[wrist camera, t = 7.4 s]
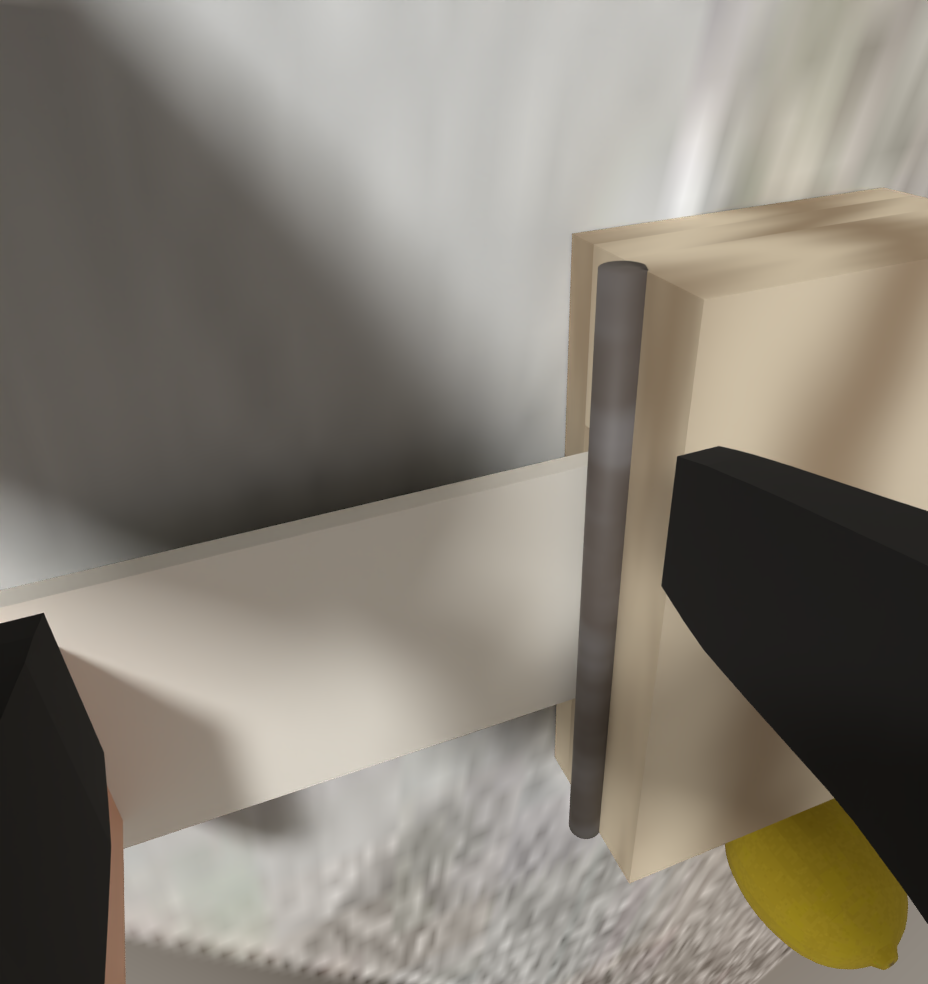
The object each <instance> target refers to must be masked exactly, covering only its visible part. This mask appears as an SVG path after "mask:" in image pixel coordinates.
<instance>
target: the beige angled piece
mask: <svg viewBox="0 0 928 984" xmlns="http://www.w3.org/2000/svg"><path fill="white" fill-rule="evenodd" d="M587 466H588V452H584V453H579V454H575V455H571V456H567V457H563V458H558V459H554V460H550V461H546V462H541V463H537V464H533V465H529V466H524V467H520V468H516V469H512V470H508V471H503V472H499V473H495V474H491V475H486V476H482V477H478V478H474V479H469V480H465V481H461V482H457V483H452V484H448V485H444V486H440V487H436V488H431V489H427V490H423V491H419V492H414V493H410V494H406V495H402V496H397V497H393V498H389V499H385V500H380V501H376V502H372V503H368V504H364V505H359V506H355V507H351V508H347V509H342V510H338V511H334V512H330V513H325V514H321V515H317V516H313V517H309V518H304V519H300V520H296V521H292V522H287V523H283V524H279V525H275V526H270V527H266V528H262V529H258V530H253V531H249V532H245V533H241V534H237V535H232V536H228V537H224V538H220V539H215V540H211V541H207V542H203V543H198V544H194V545H190V546H186V547H181V548H177V549H173V550H169V551H165V552H160V553H156V554H152V555H148V556H143V557H139V558H135V559H131V560H126V561H122V562H118V563H114V564H110V565H105V566H101V567H97V568H93V569H88V570H84V571H80V572H76V573H71V574H67V575H63V576H59V577H54V578H50V579H46V580H42V581H38V582H33V583H29V584H25V585H21V586H16V587H12V588H8V589H4V590H0V623H4V622H8V621H12V620H16V619H20V618H24V617H28V616H32V615H36V614H40V613H44V614H45V617H46V619H47V621H48V624H49V626H50V628H51V631H52V633H53V635H54V638H55V640H56V642H57V645H58V647H59V649H60V651H61V654H62V656H63V658H64V661H65V663H66V665H67V668H68V670H69V672H70V675H71V677H72V679H73V682H74V684H75V686H76V688H77V691H78V693H79V695H80V698H81V700H82V702H83V705H84V707H85V709H86V712H87V714H88V716H89V719H90V721H91V723H92V725H93V728H94V730H95V732H96V735H97V737H98V739H99V742H100V744H101V746H102V749H103V751H104V757H105V768H106V780H107V791H108V803H109V818H110V833H111V868H110V889H109V910H108V931H107V950H106V968H105V984H126V983H125V921H124V860H123V849H124V848H127V847H130V846H133V845H136V844H139V843H142V842H145V841H148V840H151V839H154V838H157V837H160V836H163V835H166V834H169V833H172V832H175V831H178V830H181V829H184V828H187V827H190V826H193V825H196V824H199V823H202V822H205V821H208V820H211V819H214V818H217V817H220V816H223V815H226V814H229V813H232V812H235V811H238V810H241V809H244V808H247V807H250V806H253V805H256V804H259V803H262V802H265V801H268V800H271V799H274V798H277V797H280V796H283V795H286V794H289V793H292V792H295V791H298V790H301V789H304V788H307V787H310V786H313V785H316V784H319V783H322V782H325V781H328V780H332V779H335V778H338V777H341V776H344V775H347V774H350V773H353V772H356V771H359V770H362V769H365V768H368V767H371V766H374V765H377V764H380V763H383V762H386V761H389V760H392V759H395V758H398V757H401V756H404V755H407V754H410V753H413V752H416V751H419V750H422V749H425V748H428V747H431V746H434V745H437V744H440V743H443V742H446V741H449V740H452V739H455V738H458V737H461V736H464V735H467V734H470V733H473V732H476V731H479V730H482V729H485V728H488V727H491V726H494V725H497V724H500V723H503V722H506V721H509V720H512V719H515V718H518V717H521V716H524V715H527V714H530V713H533V712H536V711H539V710H542V709H545V708H548V707H551V706H554V705H557V704H560V703H563V702H566V701H569V700H572V699H575V697H576V678H577V659H578V639H579V620H580V601H581V582H582V562H583V543H584V524H585V505H586V485H587Z"/></svg>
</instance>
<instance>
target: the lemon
mask: <svg viewBox="0 0 928 984" xmlns="http://www.w3.org/2000/svg"><path fill="white" fill-rule="evenodd" d="M725 849H726V856H727V859H728V863H729V866H730V869H731V871H732V874H733V876H734V878H735V880H736V882H737V884H738V886H739V888H740V890H741V892H742V894H743V895H744V897H745V899H746V900H747V902H748V903H749V905H750V906H751V908H752V909H753V910H754V912H755V913H756V914H757V915H758V917H759V918H760V919H761V920H762V921H763V922H764V923H765V925H766V926H767V927H768V928H769V929H770V930H771V931H772V932H773V933H774V934H775V935H776V936H777V937H779V938H780V939H781V940H782V941H783V942H784V943H785V944H787V945H788V946H789V947H790V948H792V949H793V950H794V951H796V952H797V953H799V954H800V955H802V956H804V957H806V958H808V959H810V960H812V961H814V962H815V963H818V964H821V965H824V966H827V967H832V968H837V969H859V968H864V967H868V966H873V967H876V968H879V969H882V970H885V969H887V968H889V967H891V966H892V965H893V964H894V963H895V962H896V961H897V960H898V953H897V945H898V944H899V942H900V940H901V937H902V935H903V933H904V930H905V926H906V922H907V913H908V912H907V911H908V898H907V893H906V892H905V891H904V889H903V888H902V887H901V885H900V884H899V882H898V881H897V880H896V878H895V877H894V876H893V874H892V873H891V872H890V870H889V869H888V867H887V866H886V865H885V863H884V862H883V861H882V859H881V858H880V857H879V855H878V854H877V852H876V851H875V850H874V848H873V847H872V846H871V844H870V843H869V842H868V840H867V839H866V838H865V836H864V835H863V833H862V832H861V831H860V829H859V828H858V827H857V825H856V824H855V823H854V821H853V820H852V819H851V818H850V817H849V815H848V814H847V813H846V812H845V811H844V809H843V808H842V807H841V806H840V805H839V803H838V802H837V801H836V800H835V798H834V799H831V800H829V801H827V802H824V803H822V804H819V805H817V806H815V807H812V808H810V809H807V810H805V811H802V812H800V813H798V814H795V815H793V816H790V817H788V818H786V819H783V820H781V821H778V822H776V823H774V824H771V825H769V826H766V827H764V828H762V829H759V830H757V831H754V832H752V833H750V834H747V835H745V836H742V837H740V838H738V839H735V840H733V841H730V842H728V843H725Z"/></svg>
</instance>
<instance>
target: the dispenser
mask: <svg viewBox="0 0 928 984" xmlns="http://www.w3.org/2000/svg"><path fill="white" fill-rule="evenodd" d="M717 446H722V447H726V448H730V449H735V450H739V451H743V452H746V453H750V454H754V455H757V456H760V457H764V458H767V459H770V460H774V461H777V462H780V463H783V464H786V465H790V466H793V467H796V468H799V469H802V470H805V471H808V472H811V473H814V474H817V475H820V476H823V477H826V478H829V479H832V480H835V481H838V482H841V483H844V484H847V485H850V486H853V487H856V488H859V489H862V490H865V491H868V492H871V493H874V494H877V495H880V496H883V497H886V498H889V499H892V500H895V501H898V502H901V503H905V504H908V505H911V506H914V507H917V508H920V509H923V510H926V511H928V198H925V197H920V196H916V195H912V194H908V193H904V192H900V191H895V190H891V189H887V188H877V189H871V190H864V191H857V192H850V193H844V194H837V195H830V196H823V197H817V198H810V199H803V200H796V201H790V202H783V203H776V204H769V205H763V206H756V207H749V208H742V209H736V210H729V211H722V212H716V213H709V214H702V215H695V216H689V217H682V218H675V219H668V220H662V221H655V222H648V223H641V224H635V225H628V226H621V227H614V228H608V229H601V230H594V231H587V232H581V233H574V234H572V257H571V287H570V316H569V346H568V376H567V406H566V435H565V457H567V456H571V455H575V454H579V453H584V452H588V466H587V485H586V505H585V524H584V543H583V562H582V582H581V601H580V620H579V639H578V659H577V678H576V697H575V699H572V700H569V701H566V702H563V703H560V704H557V705H556V733H555V758H556V760H557V762H558V763H559V765H560V767H561V768H562V770H563V772H564V773H565V775H566V777H567V779H568V780H569V782H570V784H571V793H570V812H569V827H570V830H571V831H572V833H573V834H574V835H576V836H577V837H579V838H582V839H590V838H593V837H595V836H596V835H597V834H598V833H600V834H601V836H602V838H603V840H604V841H605V843H606V845H607V846H608V848H609V850H610V851H611V853H612V855H613V856H614V858H615V860H616V862H617V863H618V865H619V867H620V868H621V870H622V872H623V873H624V875H625V877H626V879H627V880H628V882H629V883H632V882H634V881H636V880H639V879H641V878H644V877H646V876H649V875H651V874H653V873H656V872H658V871H661V870H663V869H665V868H668V867H670V866H673V865H675V864H677V863H680V862H682V861H685V860H687V859H689V858H692V857H694V856H697V855H699V854H701V853H704V852H706V851H709V850H711V849H713V848H716V847H718V846H721V845H723V844H725V843H728V842H730V841H733V840H735V839H738V838H740V837H742V836H745V835H747V834H750V833H752V832H754V831H757V830H759V829H762V828H764V827H766V826H769V825H771V824H774V823H776V822H778V821H781V820H783V819H786V818H788V817H790V816H793V815H795V814H798V813H800V812H802V811H805V810H807V809H810V808H812V807H815V806H817V805H819V804H822V803H824V802H827V801H829V800H831V799H834V797H833V796H832V795H831V794H830V792H829V791H828V790H827V789H826V788H825V787H824V785H823V784H822V783H821V782H820V781H819V780H818V779H817V778H816V777H815V775H814V774H813V773H812V772H811V771H810V770H809V769H808V768H807V766H806V765H805V764H804V763H803V762H802V761H801V760H800V759H799V758H798V756H797V755H796V754H795V753H794V752H793V751H792V750H791V749H790V747H789V746H788V745H787V744H786V743H785V742H784V741H783V740H782V739H781V737H780V736H779V735H778V734H777V733H776V732H775V731H774V730H773V728H772V727H771V726H770V725H769V724H768V723H767V722H766V721H765V720H764V718H763V717H762V716H761V715H760V714H759V713H758V712H757V711H756V709H755V708H754V707H753V706H752V705H751V704H750V703H749V702H748V701H747V699H746V698H745V697H744V696H743V695H742V694H741V693H740V691H739V690H738V689H737V688H736V687H735V686H734V685H733V683H732V682H731V681H730V680H729V679H728V678H727V677H726V675H725V674H724V673H723V672H722V671H721V670H720V669H719V667H718V666H717V665H716V664H715V663H714V662H713V660H712V659H711V658H710V657H709V656H708V655H707V653H706V652H705V651H704V650H703V648H702V647H701V646H700V644H699V643H698V641H697V640H696V638H695V637H694V635H693V634H692V633H691V631H690V630H689V628H688V627H687V625H686V624H685V623H684V621H683V620H682V618H681V616H680V615H679V613H678V612H677V610H676V609H675V607H674V605H673V604H672V602H671V601H670V599H669V598H668V596H667V594H666V593H665V591H664V590H663V588H662V587H661V583H662V575H663V567H664V559H665V551H666V542H667V534H668V526H669V518H670V510H671V502H672V493H673V485H674V477H675V469H676V461H677V456H680V455H684V454H688V453H692V452H696V451H701V450H705V449H709V448H713V447H717Z"/></svg>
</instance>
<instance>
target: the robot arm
mask: <svg viewBox="0 0 928 984" xmlns="http://www.w3.org/2000/svg"><path fill="white" fill-rule="evenodd" d="M661 587H662V588H663V590H664V591H665V593H666V594H667V596H668V598H669V599H670V601H671V602H672V604H673V605H674V607H675V609H676V610H677V612H678V613H679V615H680V616H681V618H682V620H683V621H684V623H685V624H686V625H687V627H688V628H689V630H690V631H691V633H692V634H693V635H694V637H695V638H696V640H697V641H698V643H699V644H700V646H701V647H702V648H703V650H704V651H705V652H706V653H707V655H708V656H709V657H710V658H711V659H712V660H713V662H714V663H715V664H716V665H717V666H718V667H719V669H720V670H721V671H722V672H723V673H724V674H725V675H726V677H727V678H728V679H729V680H730V681H731V682H732V683H733V685H734V686H735V687H736V688H737V689H738V690H739V691H740V693H741V694H742V695H743V696H744V697H745V698H746V699H747V701H748V702H749V703H750V704H751V705H752V706H753V707H754V708H755V709H756V711H757V712H758V713H759V714H760V715H761V716H762V717H763V718H764V720H765V721H766V722H767V723H768V724H769V725H770V726H771V727H772V728H773V730H774V731H775V732H776V733H777V734H778V735H779V736H780V737H781V739H782V740H783V741H784V742H785V743H786V744H787V745H788V746H789V747H790V749H791V750H792V751H793V752H794V753H795V754H796V755H797V756H798V758H799V759H800V760H801V761H802V762H803V763H804V764H805V765H806V766H807V768H808V769H809V770H810V771H811V772H812V773H813V774H814V775H815V777H816V778H817V779H818V780H819V781H820V782H821V783H822V784H823V785H824V787H825V788H826V789H827V790H828V791H829V792H830V794H831V795H832V796H833V797H834V798H835V800H836V801H837V802H838V803H839V805H840V806H841V807H842V808H843V809H844V811H845V812H846V813H847V814H848V815H849V817H850V818H851V819H852V820H853V821H854V823H855V824H856V825H857V827H858V828H859V829H860V831H861V832H862V833H863V835H864V836H865V838H866V839H867V840H868V842H869V843H870V844H871V846H872V847H873V848H874V850H875V851H876V852H877V854H878V855H879V857H880V858H881V859H882V861H883V862H884V863H885V865H886V866H887V867H888V869H889V870H890V872H891V873H892V874H893V876H894V877H895V878H896V880H897V881H898V882H899V884H900V885H901V887H902V888H903V889H904V891H905V892H906V893H907V895H908V896H909V897H910V899H911V900H912V902H913V903H914V905H915V906H916V908H917V909H918V910H919V912H920V913H921V915H922V916H923V918H924V919H925V921H926V922H927V923H928V511H926V510H923V509H920V508H917V507H914V506H911V505H908V504H905V503H901V502H898V501H895V500H892V499H889V498H886V497H883V496H880V495H877V494H874V493H871V492H868V491H865V490H862V489H859V488H856V487H853V486H850V485H847V484H844V483H841V482H838V481H835V480H832V479H829V478H826V477H823V476H820V475H817V474H814V473H811V472H808V471H805V470H802V469H799V468H796V467H793V466H790V465H786V464H783V463H780V462H777V461H774V460H770V459H767V458H764V457H760V456H757V455H754V454H750V453H746V452H743V451H739V450H735V449H730V448H726V447H722V446H717V447H713V448H709V449H705V450H701V451H696V452H692V453H688V454H684V455H680V456H677V461H676V469H675V477H674V485H673V493H672V502H671V510H670V518H669V526H668V534H667V542H666V551H665V559H664V567H663V575H662V583H661ZM110 868H111V833H110V818H109V803H108V791H107V780H106V768H105V757H104V751H103V749H102V746H101V744H100V742H99V739H98V737H97V735H96V732H95V730H94V728H93V725H92V723H91V721H90V719H89V716H88V714H87V712H86V709H85V707H84V705H83V702H82V700H81V698H80V695H79V693H78V691H77V688H76V686H75V684H74V682H73V679H72V677H71V675H70V672H69V670H68V668H67V665H66V663H65V661H64V658H63V656H62V654H61V651H60V649H59V647H58V645H57V642H56V640H55V638H54V635H53V633H52V631H51V628H50V626H49V624H48V621H47V619H46V617H45V614H44V613H40V614H36V615H32V616H28V617H24V618H20V619H16V620H12V621H8V622H4V623H0V984H105V968H106V950H107V931H108V910H109V889H110Z"/></svg>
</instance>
